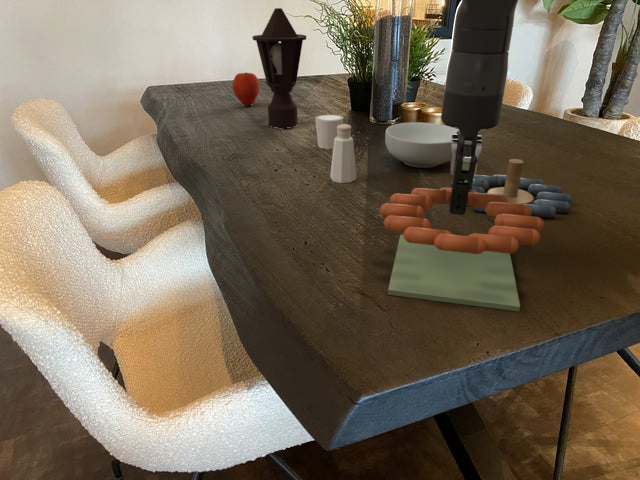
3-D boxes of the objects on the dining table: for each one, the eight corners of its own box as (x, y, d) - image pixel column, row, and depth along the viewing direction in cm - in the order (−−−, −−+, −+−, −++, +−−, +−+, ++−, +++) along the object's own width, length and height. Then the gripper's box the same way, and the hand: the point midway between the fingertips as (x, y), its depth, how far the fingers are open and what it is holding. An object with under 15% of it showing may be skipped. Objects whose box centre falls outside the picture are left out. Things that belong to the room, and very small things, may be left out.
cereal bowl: (439, 181, 98) (443, 147, 95) (369, 165, 107) (370, 133, 104) (472, 159, 110) (476, 128, 107) (406, 146, 119) (408, 117, 116)
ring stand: (529, 193, 92) (537, 155, 89) (535, 210, 86) (544, 170, 82) (485, 190, 94) (491, 152, 91) (487, 206, 87) (494, 166, 84)
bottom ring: (562, 187, 95) (564, 178, 94) (581, 225, 80) (584, 214, 79) (451, 179, 100) (452, 169, 99) (450, 213, 85) (451, 202, 84)
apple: (232, 109, 157) (229, 74, 152) (237, 103, 164) (234, 69, 159) (258, 109, 156) (256, 74, 151) (262, 103, 164) (260, 69, 159)
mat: (507, 250, 73) (508, 245, 73) (519, 311, 59) (520, 306, 59) (400, 238, 77) (400, 234, 76) (387, 294, 63) (388, 289, 62)
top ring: (532, 205, 70) (535, 193, 69) (553, 265, 56) (557, 250, 55) (386, 193, 74) (387, 180, 73) (370, 245, 60) (371, 230, 59)
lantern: (303, 133, 131) (300, 9, 117) (250, 131, 133) (241, 9, 119) (313, 120, 143) (312, 7, 129) (265, 118, 146) (258, 7, 132)
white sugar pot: (331, 140, 125) (331, 112, 122) (348, 146, 120) (349, 117, 117) (309, 144, 121) (309, 116, 118) (326, 151, 116) (326, 122, 113)
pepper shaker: (327, 182, 98) (328, 128, 93) (332, 173, 103) (332, 121, 98) (354, 184, 97) (356, 129, 92) (357, 175, 102) (359, 122, 97)
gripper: (509, 100, 57) (486, 232, 65) (500, 79, 69) (481, 193, 77) (443, 96, 58) (428, 226, 66) (445, 77, 70) (432, 189, 78)
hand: (457, 208), depth 71 cm, fingers closed on top ring, 2 cm apart
